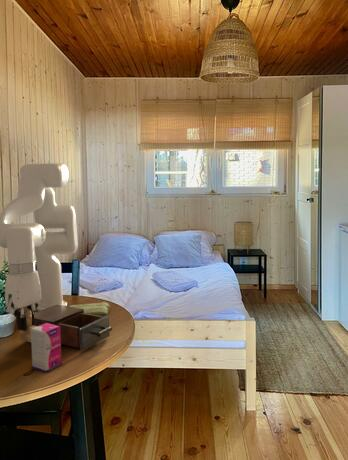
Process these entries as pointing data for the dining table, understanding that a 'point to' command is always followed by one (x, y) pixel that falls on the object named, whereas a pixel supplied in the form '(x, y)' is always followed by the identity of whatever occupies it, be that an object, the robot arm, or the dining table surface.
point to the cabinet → (55, 314)
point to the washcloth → (94, 308)
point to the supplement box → (46, 347)
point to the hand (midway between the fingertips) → (26, 327)
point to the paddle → (27, 334)
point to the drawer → (84, 330)
